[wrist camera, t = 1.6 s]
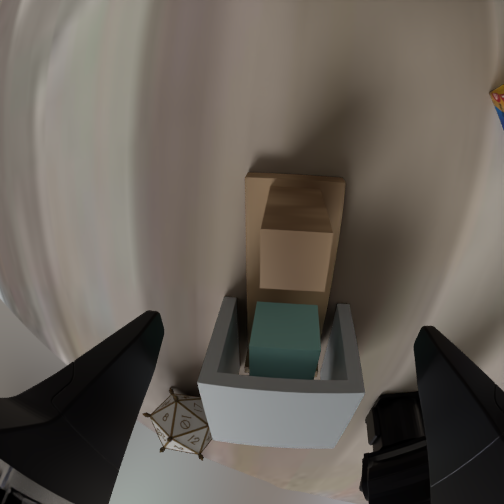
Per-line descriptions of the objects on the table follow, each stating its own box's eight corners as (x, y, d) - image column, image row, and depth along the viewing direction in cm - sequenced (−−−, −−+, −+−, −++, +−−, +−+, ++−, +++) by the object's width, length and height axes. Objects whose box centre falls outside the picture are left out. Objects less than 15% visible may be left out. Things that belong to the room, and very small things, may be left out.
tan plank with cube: (342, 177, 18) (369, 224, 11) (315, 349, 25) (317, 417, 19) (247, 172, 18) (224, 216, 12) (249, 345, 26) (237, 412, 20)
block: (317, 305, 21) (320, 350, 17) (310, 345, 24) (310, 389, 20) (257, 301, 22) (249, 346, 18) (256, 342, 24) (249, 385, 20)
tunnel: (349, 304, 22) (365, 392, 15) (330, 372, 27) (333, 448, 20) (224, 296, 23) (197, 382, 16) (229, 366, 28) (213, 440, 21)
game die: (194, 380, 36) (149, 432, 32) (170, 359, 30) (116, 422, 25) (247, 418, 32) (199, 475, 28) (234, 408, 26) (173, 478, 21)
